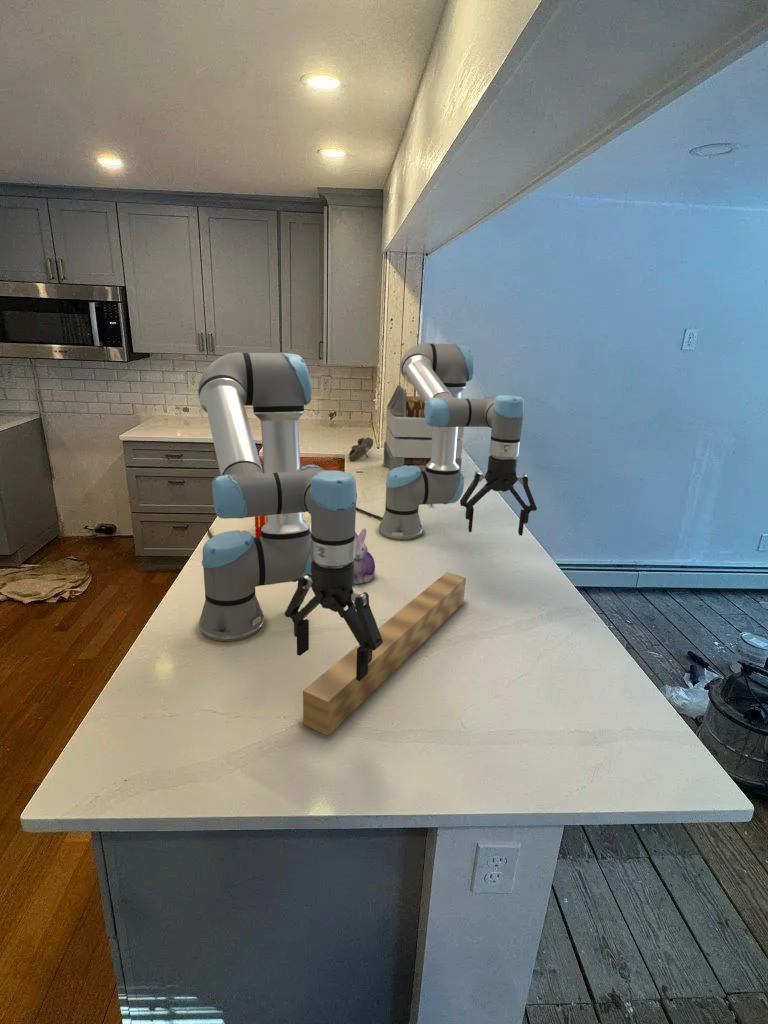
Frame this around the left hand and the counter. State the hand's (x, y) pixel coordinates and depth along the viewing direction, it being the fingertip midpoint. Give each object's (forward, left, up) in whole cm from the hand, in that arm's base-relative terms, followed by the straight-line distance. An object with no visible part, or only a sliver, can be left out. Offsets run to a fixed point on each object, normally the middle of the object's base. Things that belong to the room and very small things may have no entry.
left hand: (331, 664), depth 106 cm
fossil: (-154, +130, -12) cm, 202 cm away
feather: (-86, +114, -12) cm, 143 cm away
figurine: (-43, +41, -12) cm, 61 cm away
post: (-8, +25, -12) cm, 29 cm away
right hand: (-15, +65, +7) cm, 67 cm away
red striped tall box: (-95, +44, -12) cm, 105 cm away
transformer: (-115, +135, -12) cm, 178 cm away
